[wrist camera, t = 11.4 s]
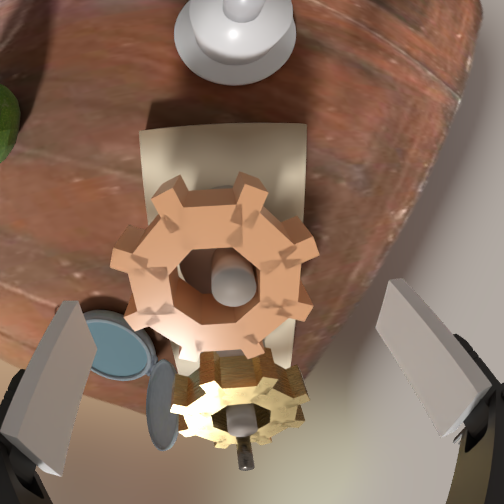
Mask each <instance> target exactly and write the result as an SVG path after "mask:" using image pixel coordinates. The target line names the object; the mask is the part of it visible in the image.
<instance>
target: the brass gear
mask: <svg viewBox="0 0 504 504" xmlns="http://www.w3.org/2000/svg"><path fill="white" fill-rule="evenodd" d="M264 350H265V353H264V354H261V355H258V356H256V357H253V358H250V359H247V357H246V356H245V355H243V356H230V357H219V355H218V354H217V353H216V351H206V352H203V353H200V367H199V368H198V369H197V370H196V371H194V372H193V373H192V374H191V375H189V376H184V375H179V374H175V377H174V380H173V385H172V397H171V411H170V412H173V413H178V414H179V426H178V432H180V433H181V434H182V435H184V436H185V437H188V436H194V435H197V436H200V437H203V438H205V439H208V440H211V441H214V447H217V448H227V447H228V446H229V445H230V444H236V446H237V455H238V464H239V469H240V470H243V471H246V470H252V469H254V461H253V454H252V448H251V442H257V443H258V444H259V445H264V444H268V443H271V442H272V439H271V437H272V436H274V435H275V434H277V433H279V432H281V431H283V430H285V429H286V428H288V427H296V428H299V427H300V426H301V425H302V424H303V423H304V422H305V419H304V415H303V412H302V408H301V405H300V404H302V403H305V402H308V401H310V398H309V395H308V393H307V389H306V386H305V383H304V380H303V377H302V374H301V371H300V369H299V367H298V365H294V366H292V367H289V368H287V369H284V368H283V367H281V366H279V365H277V364H276V363H274V360H273V356H272V352H271V348H266V347H264ZM249 403H254V408H255V415H256V421H257V427H258V430H257V432H256V433H254V434H253V435H250V436H246V437H236V436H232V435H230V434H229V433H228V428H227V416H226V406H227V405H237V404H249Z"/></svg>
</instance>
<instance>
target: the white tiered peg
mask: <svg viewBox="0 0 504 504" xmlns="http://www.w3.org/2000/svg"><path fill="white" fill-rule="evenodd" d="M174 40H175V45H176V48H177V51H178V53H179V55H180V57H181V58H182V60H183V62H184V63H185V64H186V65H187V67H188V68H189V69H190V70H191V71H192V72H194V73H195V74H197V75H198V76H200V77H201V78H203V79H205V80H207V81H210V82H213V83H216V84H220V85H227V86H240V85H247V84H252V83H255V82H258V81H261V80H263V79H265V78H267V77H268V76H270V75H272V74H273V73H274V72H276V71H277V70H278V69H280V68H281V67H282V66H283V65H284V64H285V62H286V61H287V60H288V58H289V57H290V55H291V53H292V51H293V48H294V45H295V40H296V27H295V23H294V19H293V7H292V3H291V0H189V1H188V2H187V4H186V5H185V6H184V7H183V8H182V10H181V12H180V13H179V15H178V18H177V20H176V24H175V29H174Z"/></svg>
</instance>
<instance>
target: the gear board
mask: <svg viewBox="0 0 504 504" xmlns="http://www.w3.org/2000/svg"><path fill="white" fill-rule="evenodd" d="M139 138H140V152H141V164H142V175H143V185H144V194H145V202H146V210H147V218H148V225H150V224H151V222H152V221H153V220H154V219H155V217H156V216H157V215H158V212H157V210H156V208H155V206H154V204H153V203H152V201H151V198H152V197H153V195H154V194H155V193H156V191H157V190H158V189H159V187H160V186H161V184H163V183H164V182H166V181H168V180H170V179H172V178H174V177H176V176H178V175H180V174H181V176H182V178H183V180H184V182H185V184H186V186H187V188H188V190H189V191H192V190H208V189H228V188H233V185H234V183H235V180H236V178H237V175H238V173H239V171H240V172H243V173H246V174H248V175H251V176H254V177H256V178H259V179H260V181H261V182H262V184H263V185H264V187H265V188H266V190H267V191H268V192H269V193H268V195H267V197H266V200H265V202H264V204H263V206H264V207H265V208H266V209H267V210H268V211H269V212H270V213H271V214H272V215H274V216H275V217H276V218H277V219H278V220H279V221H280V222H283V221H285V220H288V219H290V218H292V217H295V216H298V218H299V219H300V220H301V221H302V223H303V216H304V197H305V173H306V141H307V124H298V123H224V124H204V125H189V126H177V127H166V128H157V129H148V130H142V131H139ZM177 267H178V274H179V277H180V278H181V279H183V280H184V281H185V282H187V283H188V284H189V285H191V286H192V287H194V288H195V289H196V290H198V291H199V292H200V293H202V294H207V293H212V294H213V296H214V298H215V299H216V300H217V301H218V302H219V303H221V304H223V305H225V306H230V307H236V306H241V305H244V304H246V303H247V302H249V301H250V300H251V299H252V298H253V296H254V295H255V292H256V281H255V277H254V273H253V264H252V263H251V262H250V261H248V260H247V259H246V258H245V257H244V256H242V255H241V254H240V253H239V252H237V251H236V250H235V249H234V248H233V247H228V248H210V249H193V250H191V251H190V253H189V254H188V255H187V256H186V257H185V258H184V259H183V260H182V261H181V262H180V263H179V264H178V266H177ZM294 329H295V319H291V318H288V319H287V320H286V321H285V322H283V323H282V324H281V325H280V326H279V327H277V328H276V329H275V330H274V331H272V332H271V333H270V334H269V335H268V336H266V337H265V338H264V339H263V340H262V341H263V346H264V347H266V348H271V352H272V356H273V360H274V363H276V364H277V365H279V366H281V367H283V368H284V369H287V368H289V367H290V365H291V357H292V348H293V339H294ZM170 342H171V346H172V350H173V354H174V358H175V362H176V366H177V370H178V373H179V375H184V376H189V375H191V374H192V373H193V372H194V371H196V370H197V369H198V368H199V367H200V355H199V358H198V360H197V362H192V361H188V360H183V359H179V358H178V357H179V347H180V345H178V344H176V343H175V342H173V341H171V340H170ZM205 352H206V351H205ZM201 353H203V352H201ZM216 353H217V354H218V355H219V357H230V356H243V355H245V354H244V353H243V351H242V350H241V349H238V350H223V351H216ZM226 416H227V428H228V433H229V434H230V435H232V436H236V437H246V436H250V435H253V434H254V433H256V432H257V430H258V427H257V421H256V415H255V408H254V403H249V404H237V405H227V406H226Z"/></svg>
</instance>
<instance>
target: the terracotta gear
mask: <svg viewBox="0 0 504 504" xmlns="http://www.w3.org/2000/svg"><path fill="white" fill-rule="evenodd" d="M268 193H269V192H268V191H267V190H266V188H265V187H264V185H263V184H262V182H261V181H260V179H259V178H256V177H254V176H251V175H248V174H246V173H243V172H240V171H239V173H238V175H237V178H236V180H235V183H234V185H233V188H228V189H208V190H192V191H189V190H188V188H187V186H186V184H185V182H184V180H183V178H182V176H181V174H180V175H178V176H176V177H174V178H172V179H170V180H168V181H166V182H164V183H163V184H161V186H160V187H159V189H158V190H157V191H156V193H155V194H154V195H153V197H152V198H151V201H152V203H153V204H154V206H155V208H156V210H157V212H158V215H157V216H156V217H155V219H154V220H153V221H152V222H151V224H150V225H149V226H148V227H147V228H146V230H144V229H140V228H137V227H134V226H131V225H129V226H128V227H127V229H126V230H125V231H124V233H123V234H122V236H121V237H120V239H119V240H118V242H117V243H116V245H115V246H114V248H113V252H112V258H111V263H110V268H113V269H117V270H120V271H123V272H126V273H128V275H129V279H130V283H131V288H132V292H133V293H132V295H131V298H130V301H129V303H128V306H127V309H126V311H125V314H124V319H125V320H126V321H127V323H128V324H129V325H130V326H131V328H132V329H133V330H134V331H138V330H140V329H143V328H146V327H148V326H149V327H151V328H152V329H154V330H155V331H157V332H159V333H160V334H162V335H163V336H165V337H167V338H168V339H170V340H171V341H173V342H175V343H176V344H178V345H180V347H179V357H178V358H179V359H183V360H188V361H192V362H197V360H198V358H199V355H200V353H201V352H205V351H223V350H238V349H241V350H242V351H243V353H244V354H245V356H246V357H247V359H250V358H253V357H256V356H258V355H261V354H264V353H265V350H264V346H263V341H262V340H263V339H264V338H265V337H266V336H268V335H269V334H270V333H271V332H272V331H274V330H275V329H276V328H277V327H279V326H280V325H281V324H282V323H283V322H285V321H286V320H287V319H288V318H291V319H296V320H300V321H305V320H306V318H307V316H308V315H309V313H310V311H311V310H312V308H313V304H312V302H311V300H310V298H309V296H308V294H307V292H306V290H305V288H304V286H303V284H302V282H301V279H300V273H301V263H303V262H305V261H308V260H310V259H312V258H315V257H317V256H319V252H318V249H317V246H316V243H315V240H314V238H313V236H312V234H311V233H310V232H309V230H308V229H307V228H306V227H305V225H304V224H303V223H302V221H301V220H300V219H299V218H298V216H295V217H292V218H290V219H288V220H285V221H283V222H280V221H279V220H278V219H277V218H276V217H275V216H274V215H272V214H271V213H270V212H269V211H268V210H267V209H266V208H265V207H264V206H263V204H264V202H265V200H266V197H267V195H268ZM228 247H233V248H234V249H235V250H236V251H237V252H239V253H240V254H241V255H242V256H244V257H245V258H246V259H247V260H248V261H250V262H251V263H252V264H253V273H254V277H255V281H256V292H255V295H254V296H253V298H252V299H251V300H250V301H249V302H247V303H246V304H244V305H241V306H236V307H230V306H225V305H223V304H221V303H219V302H218V301H217V300H216V299H215V298H214V296H213V294H212V293H207V294H202V293H200V292H199V291H198V290H196V289H195V288H194V287H192V286H191V285H189V284H188V283H187V282H185V281H184V280H183V279H181V278H180V277H179V274H178V267H177V266H178V264H179V263H180V262H181V261H182V260H183V259H184V258H185V257H186V256H187V255H188V254H189V253H190V251H191V250H193V249H210V248H228Z"/></svg>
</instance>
